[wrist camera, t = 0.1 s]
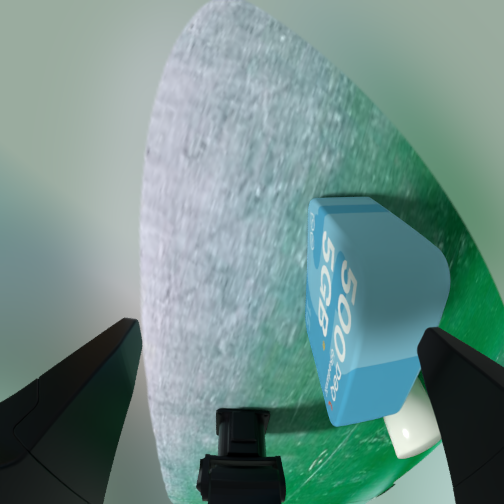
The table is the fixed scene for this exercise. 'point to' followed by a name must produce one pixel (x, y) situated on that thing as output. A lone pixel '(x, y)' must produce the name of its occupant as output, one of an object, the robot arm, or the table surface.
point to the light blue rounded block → (368, 305)
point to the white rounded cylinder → (413, 424)
